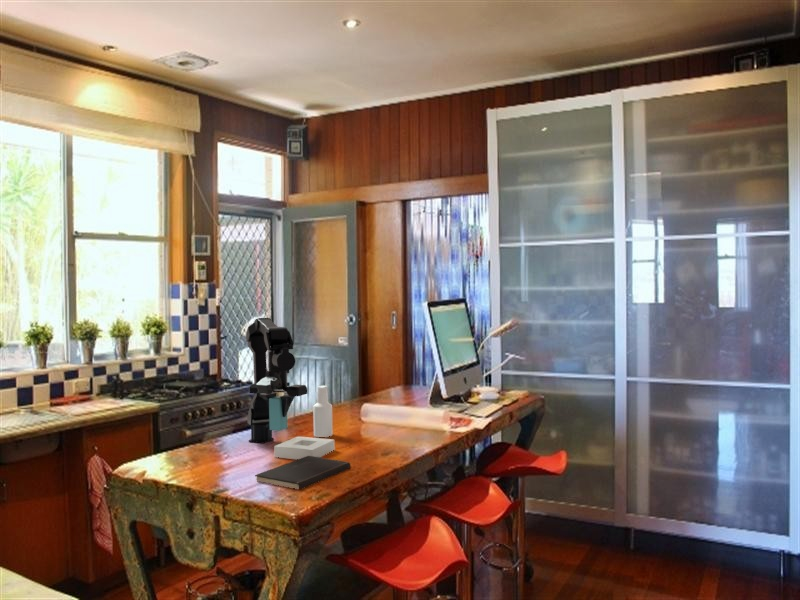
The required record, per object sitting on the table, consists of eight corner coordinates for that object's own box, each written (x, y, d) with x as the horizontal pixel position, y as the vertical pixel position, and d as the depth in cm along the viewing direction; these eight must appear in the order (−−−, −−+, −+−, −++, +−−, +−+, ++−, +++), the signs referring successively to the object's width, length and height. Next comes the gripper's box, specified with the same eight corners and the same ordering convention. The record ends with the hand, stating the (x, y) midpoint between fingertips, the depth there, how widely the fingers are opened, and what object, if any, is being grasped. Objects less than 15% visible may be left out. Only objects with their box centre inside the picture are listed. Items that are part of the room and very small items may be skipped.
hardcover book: (255, 483, 176) (254, 474, 176) (308, 463, 195) (308, 455, 195) (299, 492, 168) (299, 483, 167) (350, 470, 187) (350, 462, 187)
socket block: (274, 457, 201) (274, 446, 201) (298, 446, 214) (297, 436, 214) (312, 461, 195) (312, 449, 195) (334, 450, 208) (334, 439, 208)
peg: (269, 429, 200) (269, 398, 200) (277, 427, 203) (276, 396, 203) (280, 430, 198) (279, 399, 198) (287, 428, 202) (286, 397, 202)
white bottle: (334, 433, 232) (333, 384, 232) (330, 438, 226) (329, 387, 225) (316, 433, 233) (315, 384, 233) (311, 437, 226) (310, 387, 226)
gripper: (237, 369, 197) (238, 419, 197) (287, 371, 189) (288, 423, 190) (259, 365, 207) (260, 412, 207) (308, 367, 199) (308, 416, 200)
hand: (278, 416), depth 201 cm, fingers closed on peg, 4 cm apart
